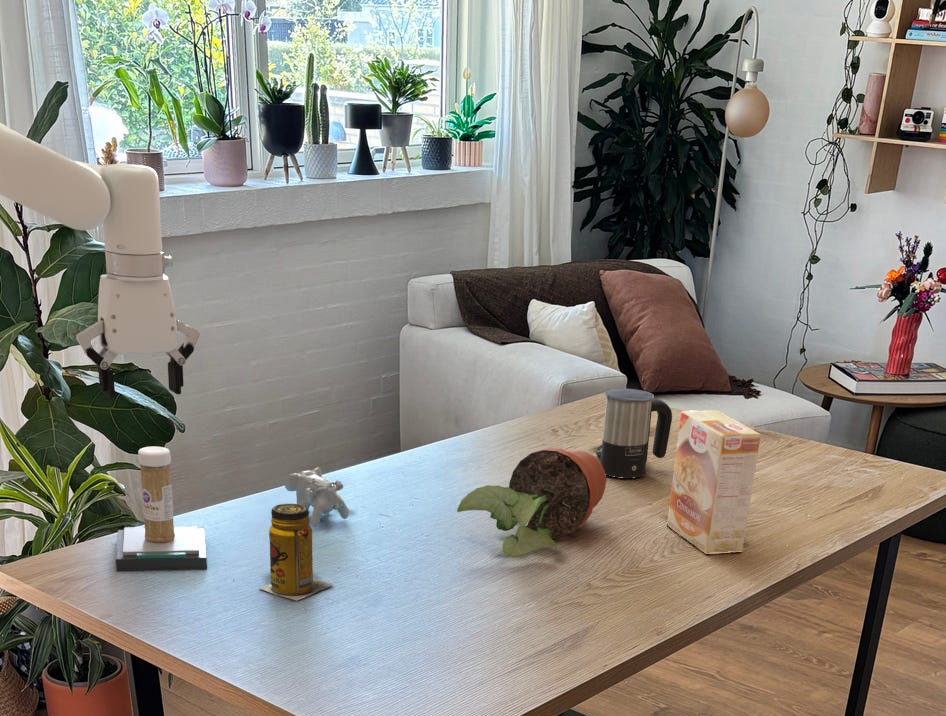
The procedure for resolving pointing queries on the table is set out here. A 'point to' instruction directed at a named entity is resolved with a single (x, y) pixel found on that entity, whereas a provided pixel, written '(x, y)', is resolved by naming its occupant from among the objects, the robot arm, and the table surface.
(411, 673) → the table surface
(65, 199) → the robot arm
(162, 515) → the sprinkles bottle
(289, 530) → the condiment
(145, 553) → the kitchen scale
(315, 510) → the elephant statuette
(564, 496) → the potted plant
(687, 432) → the coffeecake box
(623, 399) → the milk frother
